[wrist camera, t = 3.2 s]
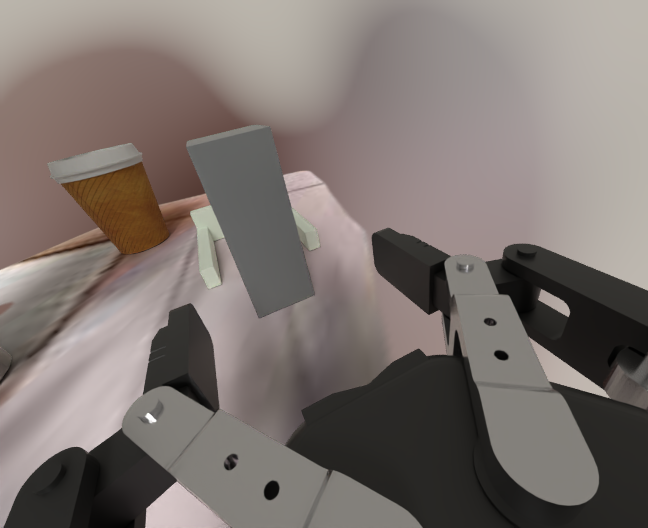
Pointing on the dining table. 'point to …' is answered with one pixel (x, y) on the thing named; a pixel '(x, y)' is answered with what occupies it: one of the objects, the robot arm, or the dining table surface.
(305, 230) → the mount
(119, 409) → the dining table surface
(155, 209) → the disposable coffee cup
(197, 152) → the tall gray pillar block
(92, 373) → the dining table surface
